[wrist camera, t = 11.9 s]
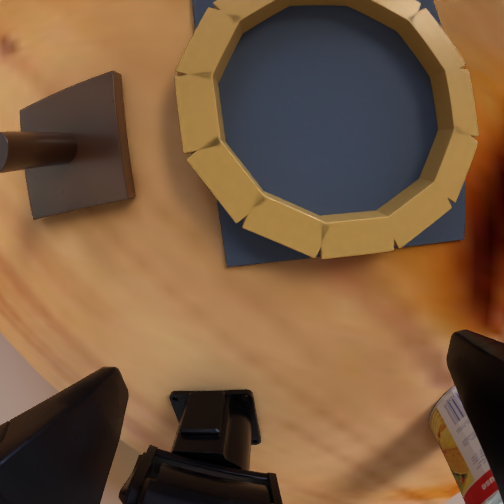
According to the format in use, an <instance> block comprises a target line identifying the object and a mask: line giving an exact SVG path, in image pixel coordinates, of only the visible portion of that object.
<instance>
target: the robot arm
mask: <svg viewBox="0 0 504 504" xmlns="http://www.w3.org/2000/svg"><path fill="white" fill-rule="evenodd" d="M447 366H448V369H449V371H450V374H451V376H452V379H453V381H454V384H455V387H456V389H457V392H458V395H459V398H460V400H461V403H462V405H463V408H464V410H465V412H466V415H467V417H468V419H469V421H470V423H471V425H472V427H473V430H474V432H475V434H476V436H477V438H478V441H479V443H480V445H481V448H482V450H483V452H484V455H485V457H486V459H487V462H488V464H489V467H490V469H491V472H492V474H493V477H494V480H495V482H496V485H497V488H498V490H499V493H500V496H501V499H502V502H503V504H504V343H502V342H499V341H496V340H494V339H491V338H488V337H485V336H483V335H480V334H477V333H474V332H472V331H469V330H461V331H457V332H454V333H453V334H452V336H451V340H450V345H449V349H448V354H447ZM245 395H247V397H245ZM176 397H177V398H176ZM169 398H170V401H171V404H172V406H173V409H174V411H175V414H176V416H177V419H178V421H179V426H178V430H177V433H176V436H175V440H174V443H173V446H172V450H171V452H168V451H164V450H161V449H158V447H155V446H152V445H150V446H149V448H148V450H147V452H146V453H145V452H144V453H143V455H139V457H138V460H137V462H136V465H135V467H134V470H133V472H132V474H131V475H130V477H129V478H128V480H127V481H126V483H125V484H124V486H123V487H122V488H121V490H120V493H119V498H120V500H121V502H122V503H123V504H282V499H281V495H280V490H279V486H278V482H277V477H276V474H275V473H260V472H254V471H249V469H250V453H251V445H257V444H259V443H260V442H261V436H260V431H259V425H258V420H257V414H256V409H255V403H254V398H253V393H252V392H251V391H250V390H225V391H173V392H171V394H170V397H169ZM127 402H128V389H127V387H126V385H125V382H124V380H123V378H122V375H121V373H120V371H119V369H118V368H116V367H102V368H101V369H99V370H97V371H95V372H94V373H92V374H90V375H89V376H87V377H85V378H83V379H82V380H80V381H78V382H76V383H75V384H73V385H71V386H70V387H68V388H66V389H64V390H63V391H61V392H59V393H57V394H56V395H54V396H52V397H50V398H49V399H47V400H45V401H43V402H42V403H40V404H38V405H36V406H34V407H33V408H31V409H29V410H27V411H25V412H24V413H22V414H20V415H18V416H17V417H15V418H13V419H11V420H10V422H9V421H7V422H6V423H4V424H2V425H0V504H100V501H101V498H102V494H103V491H104V488H105V484H106V481H107V478H108V475H109V471H110V468H111V465H112V461H113V458H114V455H115V452H116V449H117V446H118V442H119V439H120V434H121V429H122V425H123V420H124V415H125V411H126V406H127Z"/></svg>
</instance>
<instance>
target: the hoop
mask: <svg viewBox="0 0 504 504" xmlns="http://www.w3.org/2000/svg"><path fill="white" fill-rule="evenodd" d="M213 5H214V8H215V9H213V8H209V7H208V9H207V10H206V12H205V14H204V16H203V18H202V19H201V21H200V23H199V25H198V27H197V29H196V31H195V32H194V34H193V36H192V38H191V40H190V42H189V44H188V46H187V48H186V50H185V52H184V54H183V56H182V58H181V60H180V62H179V64H178V67H177V69H176V72H177V73H178V74H180V75H181V76H177V77H174V80H175V89H176V98H177V107H178V115H179V124H180V131H181V139H182V147H183V153H189V154H192V155H191V156H190V157H188V158H187V159H186V160H187V162H188V163H189V164H190V165H191V167H192V168H193V169H194V170H195V172H196V173H197V174H198V176H199V177H200V178H201V179H202V181H203V182H204V183H205V184H206V186H207V187H208V188H209V190H210V191H211V192H212V193H213V195H214V196H215V197H216V198H217V200H218V201H219V202H220V204H221V205H222V206H223V207H224V209H225V210H226V211H227V213H228V214H229V215H230V216H231V218H232V219H233V220H234V221H235V223H238V222H239V221H241V220H242V219H243V218H245V219H244V222H243V225H242V228H244V229H246V230H248V231H251V232H253V233H255V234H258V235H260V236H263V237H265V238H267V239H270V240H272V241H275V242H277V243H279V244H282V245H284V246H286V247H289V248H291V249H293V250H296V251H298V252H300V253H303V254H305V255H307V256H310V257H312V258H316V256H317V254H318V253H319V255H320V257H321V259H331V258H340V257H349V256H357V255H366V254H374V253H382V252H391V251H394V245H395V246H396V247H398V248H399V249H400V248H401V247H403V246H404V245H405V244H407V243H408V242H409V241H411V240H412V239H413V238H415V237H416V236H417V235H418V234H420V233H421V232H422V231H424V230H425V229H426V228H427V227H429V226H430V225H431V224H433V223H434V222H435V221H436V220H438V219H439V218H440V217H441V216H443V215H444V214H445V213H446V212H447V211H449V210H450V209H451V208H452V206H451V204H450V202H454V203H455V202H456V200H457V198H458V196H459V193H460V191H461V188H462V186H463V183H464V181H465V178H466V175H467V173H468V170H469V167H470V165H471V162H472V159H473V156H474V153H475V150H476V147H477V144H478V141H476V140H475V139H474V138H473V137H476V136H479V132H478V123H477V115H476V108H475V101H474V95H473V89H472V83H471V78H470V73H469V70H467V69H461V68H462V67H464V66H465V65H466V63H465V61H464V60H463V58H462V57H461V55H460V54H459V52H458V51H457V49H456V48H455V46H454V45H453V43H452V42H451V40H450V39H449V37H448V36H447V35H446V33H445V32H444V31H443V29H442V28H441V27H440V25H439V24H438V23H437V21H436V20H435V19H434V17H433V16H432V15H431V14H430V12H429V11H428V10H427V9H426V8H424V9H422V10H419V9H420V6H421V3H419V2H418V1H416V0H216V1H215V2H213ZM301 5H338V6H348V7H350V8H353V9H355V10H357V11H359V12H361V13H363V14H365V15H367V16H369V17H371V18H373V19H375V20H377V21H378V22H380V23H382V24H384V25H386V26H388V27H389V28H391V29H393V30H395V31H396V32H398V34H399V35H400V36H401V37H402V39H403V40H404V41H405V43H406V44H407V45H408V47H409V48H410V49H411V51H412V52H413V53H414V55H415V56H416V57H417V59H418V60H419V62H420V63H421V65H422V66H423V67H424V69H425V70H426V72H427V73H428V75H429V76H430V80H431V86H432V91H433V98H434V104H435V111H436V119H437V127H438V131H437V134H436V137H435V140H434V142H433V145H432V147H431V150H430V153H429V155H428V158H427V160H426V163H425V165H424V168H423V170H422V172H421V175H420V177H419V179H418V180H416V181H415V182H414V183H412V184H411V185H410V186H408V187H407V188H406V189H404V190H403V191H402V192H400V193H399V194H398V195H396V196H395V197H394V198H392V199H391V200H390V201H388V202H387V203H386V204H384V205H383V206H381V207H380V208H379V209H377V210H375V211H364V212H353V213H342V214H332V215H322V216H319V215H317V214H315V213H313V212H310V211H308V210H306V209H304V208H302V207H299V206H297V205H295V204H293V203H290V202H288V201H286V200H283V199H281V198H279V197H277V196H274V195H272V194H270V193H267V192H265V191H263V189H262V188H261V187H260V185H259V184H258V183H257V182H256V180H255V179H254V178H253V176H252V175H251V174H250V172H249V171H248V170H247V169H246V167H245V166H244V165H243V163H242V162H241V161H240V160H239V158H238V157H237V156H236V154H235V153H234V152H233V151H232V149H231V148H230V147H229V146H228V144H227V143H226V140H225V133H224V125H223V117H222V110H221V102H220V94H219V86H218V83H219V81H220V79H221V77H222V75H223V72H224V70H225V68H226V66H227V64H228V62H229V60H230V58H231V56H232V54H233V52H234V50H235V48H236V46H237V44H238V42H239V40H240V38H241V36H242V34H243V33H245V32H246V31H248V30H249V29H251V28H253V27H254V26H256V25H257V24H259V23H261V22H262V21H264V20H266V19H267V18H269V17H271V16H273V15H274V14H276V13H278V12H280V11H281V10H283V9H285V8H287V7H289V6H301ZM449 201H450V202H449Z"/></svg>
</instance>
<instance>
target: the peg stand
mask: <svg viewBox="0 0 504 504" xmlns="http://www.w3.org/2000/svg"><path fill="white" fill-rule="evenodd" d="M20 125H21V132H0V173H4V172H10V171H17V170H24V169H25V175H26V182H27V189H28V195H29V200H30V206H31V211H32V216H33V220H36V219H40V218H44V217H48V216H52V215H56V214H61V213H65V212H69V211H74V210H78V209H83V208H87V207H92V206H96V205H101V204H106V203H111V202H116V201H121V200H126V199H130V198H133V197H135V190H134V183H133V177H132V171H131V164H130V157H129V150H128V142H127V134H126V125H125V116H124V106H123V95H122V83H121V74H119V73H117V72H115V71H110V72H107V73H105V74H102V75H99V76H96V77H94V78H91V79H88V80H86V81H83V82H81V83H78V84H76V85H73V86H71V87H68V88H66V89H64V90H61V91H59V92H57V93H55V94H52V95H50V96H48V97H46V98H44V99H42V100H40V101H38V102H36V103H33V104H31V105H29V106H28V107H26V108H24V109H22V110H20Z"/></svg>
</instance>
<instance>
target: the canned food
mask: <svg viewBox="0 0 504 504" xmlns="http://www.w3.org/2000/svg"><path fill="white" fill-rule="evenodd" d="M429 424H430V427H431V429H432V431H433V433H434V435H435V438H436V440H437V442H438V444H439V446H440V448H441V450H442V452H443V454H444V456H445V458H446V461H447V463H448V465H449V467H450V469H451V471H452V474H453V476H454V478H455V480H456V483H457V485H458V487H459V489H460V492H461V494H462V496H463V499H464V501H465V503H466V504H503V502H502V499H501V496H500V493H499V490H498V488H497V485H496V482H495V480H494V477H493V474H492V472H491V469H490V467H489V464H488V462H487V459H486V457H485V455H484V452H483V450H482V448H481V445H480V443H479V441H478V438H477V436H476V434H475V432H474V430H473V427H472V425H471V423H470V421H469V419H468V417H467V415H466V412H465V410H464V408H463V405H462V403H461V400H460V398H459V395H458V392H457V389H456V387H455V386H453V387H452V388H451V389H450V390H449V391H448V392H447V393H446V394H444V395H443V396H442V398H441V399H440V400H439V401H438V403H437V404H436V405H435V407H434V409H433V411H432V412H431V415H430V419H429Z"/></svg>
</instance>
